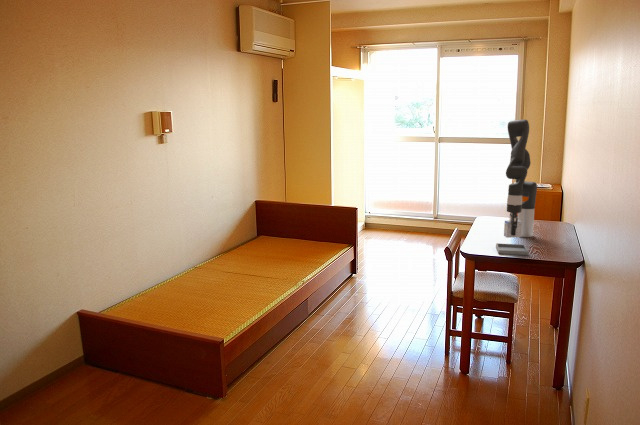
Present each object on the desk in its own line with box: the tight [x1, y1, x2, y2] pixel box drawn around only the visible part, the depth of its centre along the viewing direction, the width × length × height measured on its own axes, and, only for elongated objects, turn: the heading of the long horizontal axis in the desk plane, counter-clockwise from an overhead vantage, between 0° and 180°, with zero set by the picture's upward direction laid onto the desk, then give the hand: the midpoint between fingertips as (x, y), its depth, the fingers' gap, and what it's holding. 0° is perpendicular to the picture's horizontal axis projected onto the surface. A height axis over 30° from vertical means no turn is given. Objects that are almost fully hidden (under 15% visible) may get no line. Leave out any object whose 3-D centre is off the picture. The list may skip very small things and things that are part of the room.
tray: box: [495, 242, 530, 257], centre depth 286 cm, size 15×15×2 cm
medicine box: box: [503, 220, 522, 238], centre depth 284 cm, size 8×4×9 cm, turn 92°
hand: (512, 233), depth 284 cm, fingers closed on medicine box, 5 cm apart
